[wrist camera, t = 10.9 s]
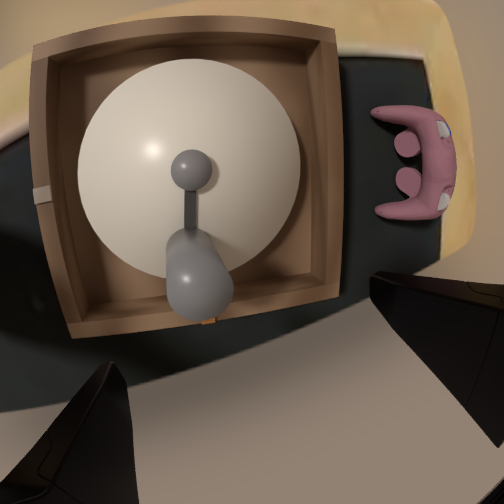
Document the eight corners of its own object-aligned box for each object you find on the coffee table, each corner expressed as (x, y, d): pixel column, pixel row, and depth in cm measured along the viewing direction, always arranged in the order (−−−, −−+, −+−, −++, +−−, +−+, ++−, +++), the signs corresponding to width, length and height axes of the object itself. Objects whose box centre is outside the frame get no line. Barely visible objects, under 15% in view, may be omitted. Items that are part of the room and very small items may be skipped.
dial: (90, 68, 14) (54, 28, 7) (298, 76, 18) (357, 48, 11) (90, 276, 18) (61, 333, 12) (284, 268, 22) (332, 315, 16)
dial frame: (82, 314, 20) (71, 340, 17) (51, 59, 14) (32, 44, 10) (317, 278, 25) (339, 297, 21) (311, 42, 18) (336, 28, 15)
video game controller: (389, 210, 27) (456, 221, 22) (370, 220, 24) (447, 234, 19) (386, 108, 23) (456, 109, 18) (365, 103, 21) (447, 102, 16)
